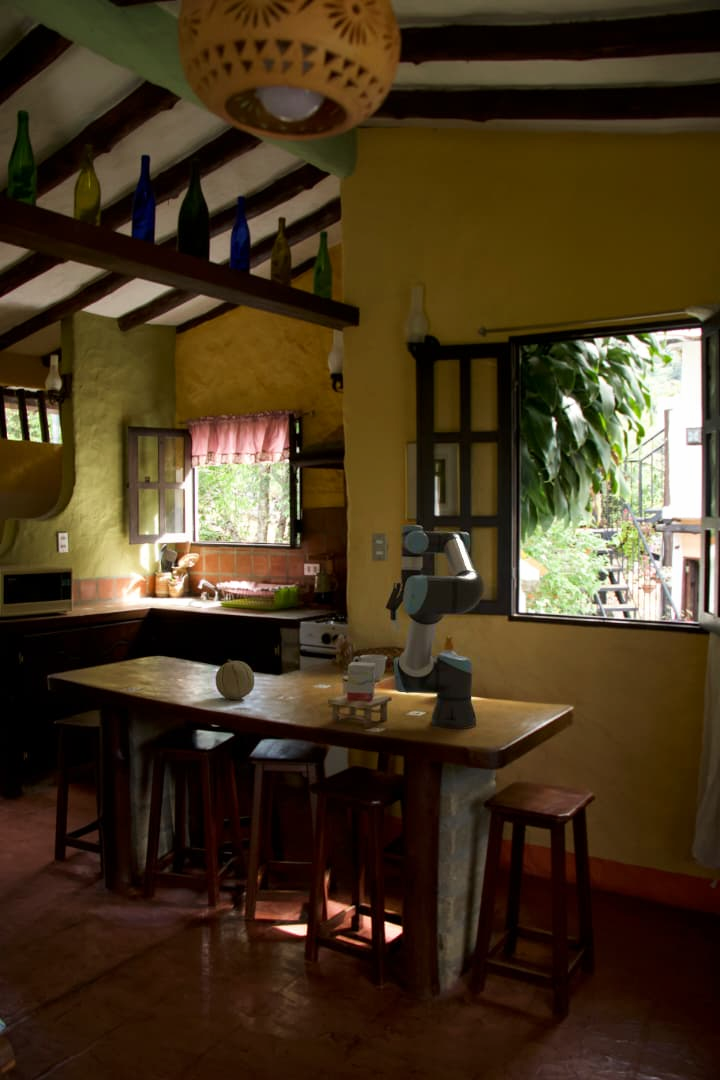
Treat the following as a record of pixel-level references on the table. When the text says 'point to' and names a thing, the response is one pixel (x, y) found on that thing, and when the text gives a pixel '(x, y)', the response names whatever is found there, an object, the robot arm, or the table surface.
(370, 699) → the ink box
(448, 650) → the soap bottle
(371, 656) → the teacup
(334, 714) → the footstool
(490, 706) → the table surface
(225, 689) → the cantaloupe
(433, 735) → the table surface
